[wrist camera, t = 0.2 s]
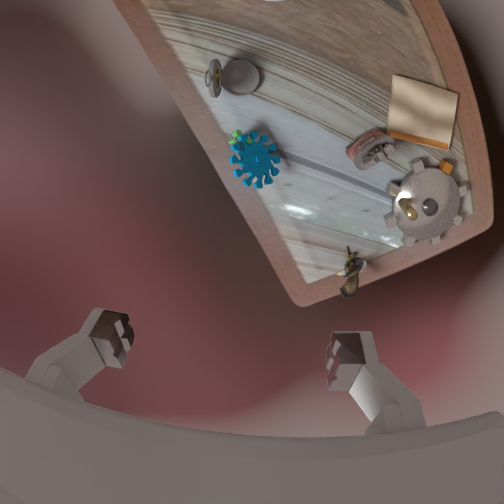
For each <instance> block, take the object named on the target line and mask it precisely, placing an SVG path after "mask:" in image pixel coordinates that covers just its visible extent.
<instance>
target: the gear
mask: <svg viewBox="0 0 504 504" xmlns="http://www.w3.org/2000/svg"><path fill="white" fill-rule="evenodd" d="M241 134H242V132H241V131H240V130H237V131H234V132H233V133H232V135H233V137H234V138H233V139H232V140H230V141H229V144H233V143H234V144H233V145H232V146H231V149H232V150H233V151H236V152H237V153H238V154H239V156H240V158H241V160H239V159H238V158H237V156H235V155H233V156H231V157H230V160H229V163H231V164H234V163H237V164H239V166H242V167H243V170H240V169H236V170H234V175H235V177H240V176H241V175H242V174H244V173H248V174H249V178H247V179H244V180H243V181H242V183H243V184H244V185H245V186H246V187H247V186H250V185H251V183H252V180H253V178H254V177H255V176H256V177H257V181H256V182H255V183H254V187H255V188H259V189H260V188H262V187H263V184H262V178H263V175H265V180H264V183H265V185H267V184H271V183H273V180H272V178H271V177H270V175H269V168H270V170H271V174H272V176H276V175H277V174H278V173H279V170H278V169H277V168H275V167H274V166H273V165H272V163H271V160H272V161H273V163H275V164H277V163H280V157H279V156H272V155H270V154H269V152H268V151H269V150H270V151H271V152H273V151H276V150H277V148H276V145H275V144H271V145H269V146H268V147H264V146H263V142H267V141H269V138H268V136H267V135H262V136H261V137H260V141H259V142H258V143H255V138H257V137H258V133H257V132H255V131H252V132H250V133H249V136H250V138H248V136H247V134H243V135H241ZM248 144H249V145H248Z"/></svg>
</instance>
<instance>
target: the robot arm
mask: <svg viewBox="0 0 504 504" xmlns="http://www.w3.org/2000/svg"><path fill="white" fill-rule="evenodd" d="M266 1H284V0H266ZM129 321H130V319H129V316H128V314H126V313H121V312H116V311H111V310H106V309H100V308H95V309H93V310H92V312H91V314H90V315H89V317H88V318H87V320H86V322H85V323H84V325H83V327H82V328H81V330H80V332H79V333H78V334H74V335H73V336H71V337H69V338H68V339H66V340H65V341H63V342H61V343H59V344H58V345H56V346H55V347H53V348H52V349H50V350H48V351H47V352H45V353H43V354H42V355H40V356H39V357H37V358H36V359H35V361H34V363H33V365H32V366H31V368H30V370H29V371H28V373H27V375H26V377H25V378H24V379H23V378H21V377H19V376H17V375H15V374H13V373H11V372H9V371H7V370H5V369H2V368H1V367H0V504H504V415H502V414H501V413H500V412H498V411H492V412H488V413H484V414H481V415H477V416H473V417H470V418H466V419H462V420H457V421H453V422H449V423H444V424H440V425H434V426H429V427H426V423H425V419H424V415H423V411H422V407H421V403H420V400H419V399H418V398H417V397H416V396H415V395H414V394H413V393H412V392H411V391H410V390H409V389H408V388H407V387H406V386H405V385H404V384H403V383H402V382H401V381H400V380H399V379H398V378H397V377H396V376H395V375H394V374H392V373H391V371H390V370H389V369H388V368H387V367H385V365H383V364H379V360H378V355H377V351H376V347H375V344H374V340H373V336H372V333H371V332H370V331H369V332H368V331H363V332H361V331H359V332H357V331H333V333H332V335H331V344H329V345H328V348H327V353H326V368H327V369H328V370H329V374H328V376H327V379H328V390H329V391H349V393H350V394H351V395H352V397H353V398H354V399H355V401H356V402H357V403H358V405H359V406H360V408H361V409H362V410H363V411H364V413H365V414H366V416H367V417H368V418H369V420H370V421H371V424H370V425H369V426H368V427H367V428H366V430H365V431H364V432H363V433H362V435H360V436H345V437H318V438H317V437H314V438H313V437H312V438H311V437H307V438H306V437H300V438H299V437H269V436H254V435H242V434H232V433H223V432H215V431H207V430H200V429H193V428H187V427H181V426H176V425H171V424H166V423H161V422H156V421H151V420H147V419H143V418H139V417H135V416H131V415H127V414H123V413H119V412H115V411H112V410H108V409H104V408H101V407H98V406H95V405H92V404H88V403H85V402H83V398H82V396H81V395H80V394H79V393H78V391H77V390H78V389H79V388H81V387H82V386H83V385H84V384H85V383H86V382H88V381H89V380H90V379H91V378H92V377H93V376H95V375H96V374H97V373H98V372H99V371H100V370H102V369H103V368H104V367H105V365H106V366H111V367H116V368H121V369H122V368H123V366H124V364H125V361H126V359H127V353H126V352H127V351H128V350H130V349H131V348H132V345H133V343H134V330H133V328H132V326H131V325H130V324H129Z"/></svg>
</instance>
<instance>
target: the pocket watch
mask: <svg viewBox="0 0 504 504" xmlns="http://www.w3.org/2000/svg"><path fill="white" fill-rule="evenodd" d="M207 73H208V85H207V81H206V77H207ZM258 83H259V72H258V70H257V69H256V67H255V66H254V65H253V64H252V63H250V62H248V61H244V60H236V61H232V62H230V63H229V64H227V65H226V66H225V67H224V69H223V70H222V68H221V64H220V62H219V60H218V59H214V60H212V61H211V62H210V65H209V71H207V72H206V74H205V84H206V86H207V87H209V92H210V95H211V97H214V98H217V97H218V96H219V94H220V92H221V86H223V88H224V89H225V90H226V91H227V92H228V93H230V94H232V95H235V96H244V95H248V94H250V93H251V92H253V91H254V90H255V89H256V87H257V86H258Z"/></svg>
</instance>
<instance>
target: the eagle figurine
mask: <svg viewBox="0 0 504 504" xmlns="http://www.w3.org/2000/svg"><path fill="white" fill-rule="evenodd" d="M346 255H347V262H346V264H345V269H343V270H341V271H339V272H338V273H336V274H338V275H344V274H346V275H345V276H344V278H345V277H348V279H347V281H346V283H345V284H344V285H343V286H342V287H341V288H340V291H341V294H342V296H344V298H351V297H353V296H354V295H355V293H356V291H357V288H358V282H359V278H358V273H361V272H363V270H364V269H365V267H366V261H365V260H364V261H362V262H360V263H359V265H355V263H354V262H357V260H358V259H359V258H357V259H355V260H352V259H353V257H354V255H355V254H354V253H352V254H351V255H349V252H348V246H347V247H346ZM349 265H350V266H349Z"/></svg>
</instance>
